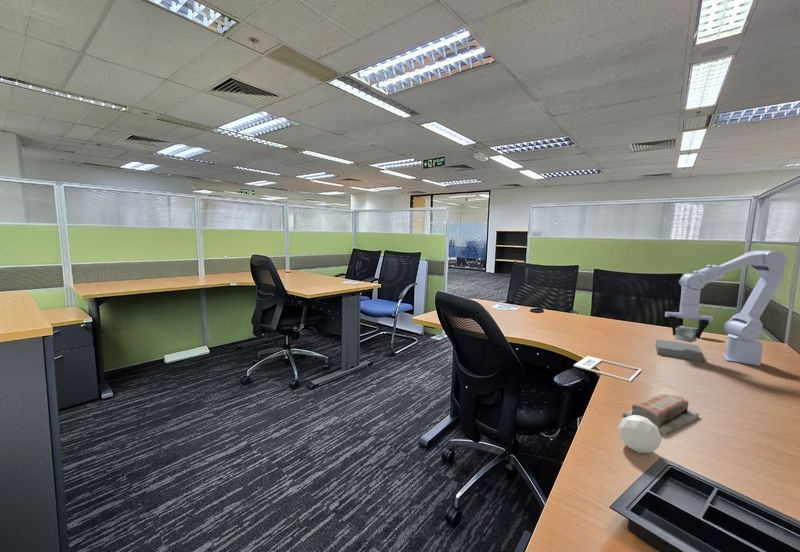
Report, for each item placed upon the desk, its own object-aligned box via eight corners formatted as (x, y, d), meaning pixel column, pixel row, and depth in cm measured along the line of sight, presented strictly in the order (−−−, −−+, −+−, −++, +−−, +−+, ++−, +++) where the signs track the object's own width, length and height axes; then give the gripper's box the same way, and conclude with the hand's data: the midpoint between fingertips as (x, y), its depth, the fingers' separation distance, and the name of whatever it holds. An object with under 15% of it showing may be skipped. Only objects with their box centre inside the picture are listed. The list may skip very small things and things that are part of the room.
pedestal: (696, 352, 141) (697, 345, 140) (702, 361, 129) (703, 354, 129) (655, 345, 149) (656, 339, 148) (657, 354, 137) (657, 347, 137)
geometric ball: (630, 454, 77) (631, 419, 80) (669, 462, 70) (669, 423, 73) (609, 443, 74) (611, 408, 78) (647, 450, 68) (648, 411, 71)
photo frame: (587, 355, 133) (641, 368, 120) (587, 358, 133) (641, 371, 120) (573, 364, 123) (630, 380, 110) (573, 367, 123) (630, 383, 110)
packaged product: (667, 418, 79) (623, 400, 88) (665, 437, 80) (622, 417, 88) (701, 401, 88) (658, 386, 96) (699, 418, 88) (656, 402, 97)
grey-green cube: (696, 340, 133) (697, 328, 133) (690, 342, 131) (692, 330, 130) (680, 337, 138) (681, 325, 137) (674, 339, 135) (676, 327, 135)
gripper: (712, 304, 132) (708, 337, 133) (665, 300, 140) (662, 331, 142) (715, 307, 126) (711, 341, 128) (667, 302, 134) (663, 335, 136)
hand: (685, 336), depth 134 cm, fingers closed on grey-green cube, 7 cm apart
